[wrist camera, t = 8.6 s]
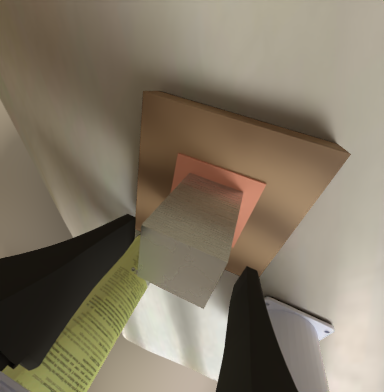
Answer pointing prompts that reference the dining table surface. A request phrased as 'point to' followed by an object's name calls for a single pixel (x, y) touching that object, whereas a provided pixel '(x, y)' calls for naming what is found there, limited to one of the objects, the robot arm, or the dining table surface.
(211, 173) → the board
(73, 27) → the dining table surface
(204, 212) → the steel column
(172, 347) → the dining table surface
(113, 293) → the tube
